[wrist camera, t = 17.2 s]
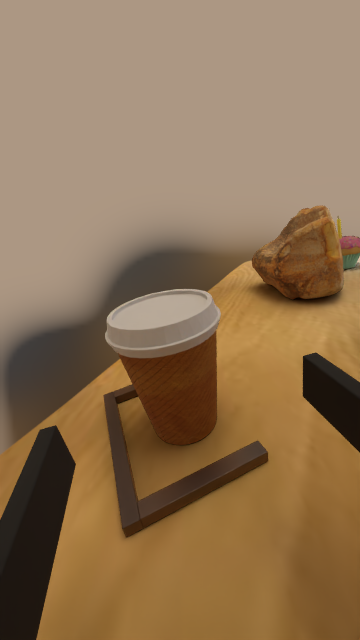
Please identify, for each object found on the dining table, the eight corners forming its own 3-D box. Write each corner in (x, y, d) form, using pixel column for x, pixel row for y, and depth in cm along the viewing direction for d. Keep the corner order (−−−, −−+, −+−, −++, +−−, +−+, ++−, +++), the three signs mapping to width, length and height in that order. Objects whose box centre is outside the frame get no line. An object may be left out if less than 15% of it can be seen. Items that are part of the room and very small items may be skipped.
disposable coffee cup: (123, 461, 21) (76, 339, 17) (152, 388, 30) (126, 294, 25) (236, 464, 19) (216, 325, 15) (232, 385, 28) (219, 282, 23)
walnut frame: (191, 368, 32) (190, 362, 32) (268, 460, 19) (267, 451, 19) (105, 401, 29) (103, 395, 29) (126, 538, 16) (122, 528, 16)
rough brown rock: (261, 277, 67) (252, 220, 62) (333, 266, 60) (330, 199, 54) (248, 314, 48) (233, 236, 43) (350, 305, 41) (348, 209, 35)
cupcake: (339, 273, 56) (342, 217, 51) (314, 267, 64) (316, 217, 59) (374, 265, 56) (381, 209, 52) (346, 260, 64) (349, 210, 60)
